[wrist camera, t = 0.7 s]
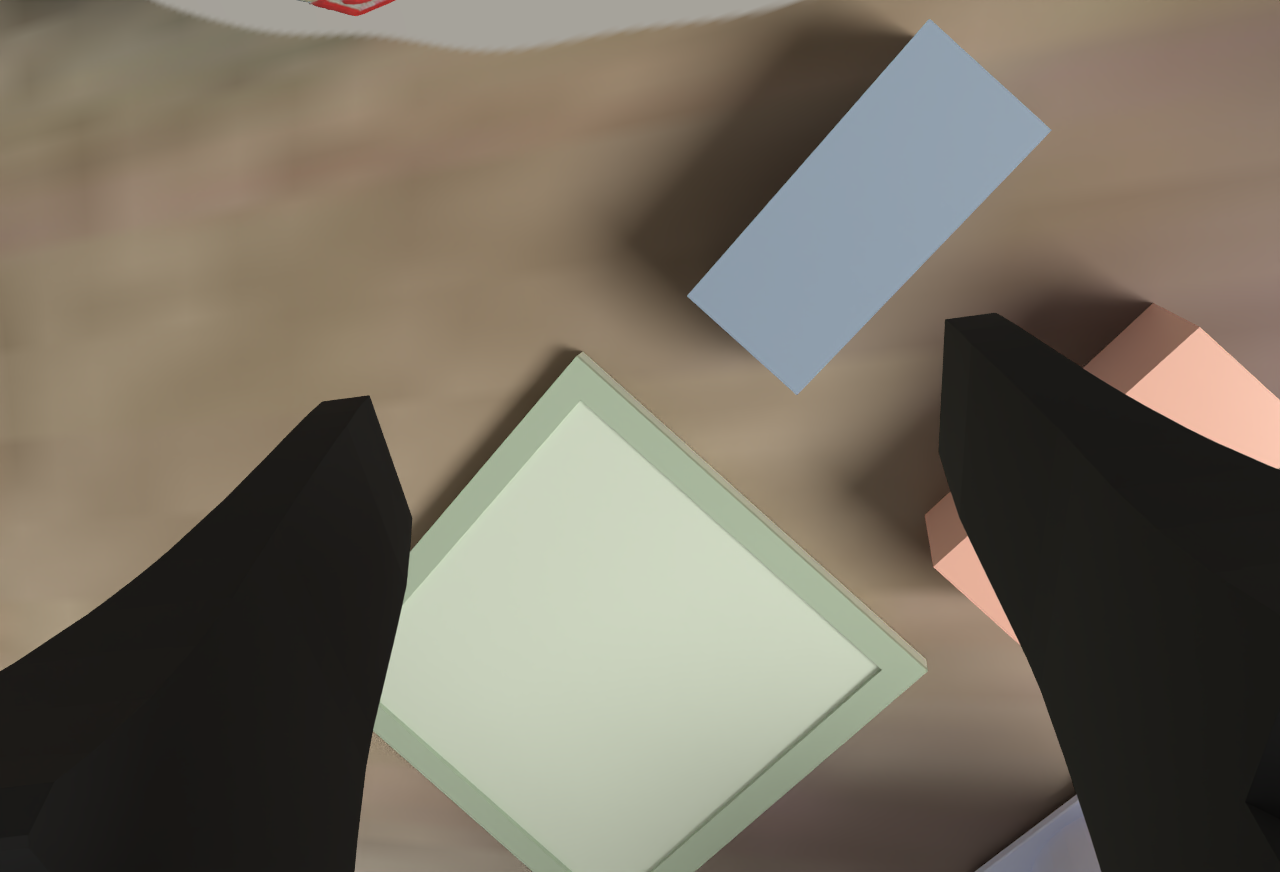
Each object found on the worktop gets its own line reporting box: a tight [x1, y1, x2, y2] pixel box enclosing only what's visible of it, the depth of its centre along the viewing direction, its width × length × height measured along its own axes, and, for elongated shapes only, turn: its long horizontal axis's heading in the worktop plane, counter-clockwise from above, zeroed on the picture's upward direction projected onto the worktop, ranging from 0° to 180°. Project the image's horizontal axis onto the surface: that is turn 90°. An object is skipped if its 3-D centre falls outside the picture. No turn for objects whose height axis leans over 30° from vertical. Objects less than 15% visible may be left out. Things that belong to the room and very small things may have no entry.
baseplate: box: [373, 352, 928, 872], centre depth 36 cm, size 15×16×1 cm
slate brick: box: [687, 19, 1051, 395], centre depth 29 cm, size 4×9×4 cm, turn 140°
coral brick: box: [925, 303, 1280, 645], centre depth 29 cm, size 4×9×4 cm, turn 139°
